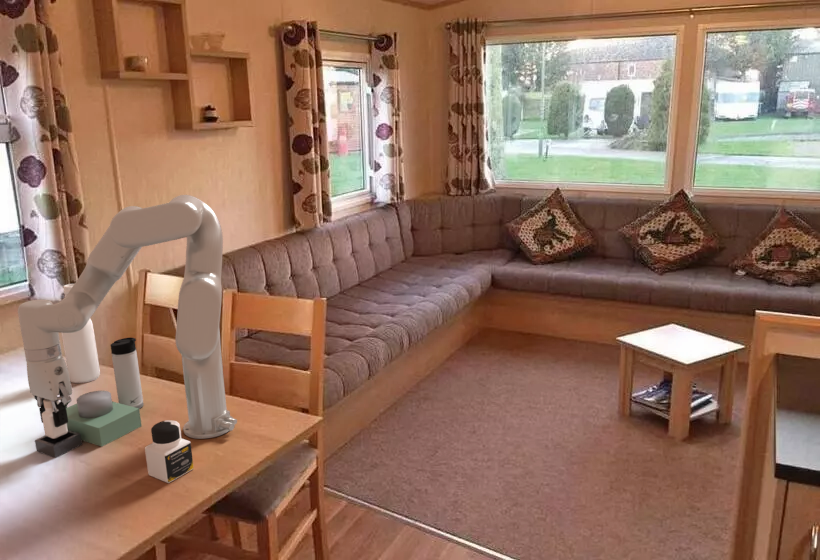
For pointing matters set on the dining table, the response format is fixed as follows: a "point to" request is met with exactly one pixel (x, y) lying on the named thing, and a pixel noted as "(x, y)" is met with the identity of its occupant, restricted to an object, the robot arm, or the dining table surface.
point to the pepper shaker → (51, 421)
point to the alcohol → (81, 352)
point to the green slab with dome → (101, 418)
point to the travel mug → (127, 372)
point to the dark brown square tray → (58, 444)
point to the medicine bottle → (168, 452)
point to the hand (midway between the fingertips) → (54, 422)
